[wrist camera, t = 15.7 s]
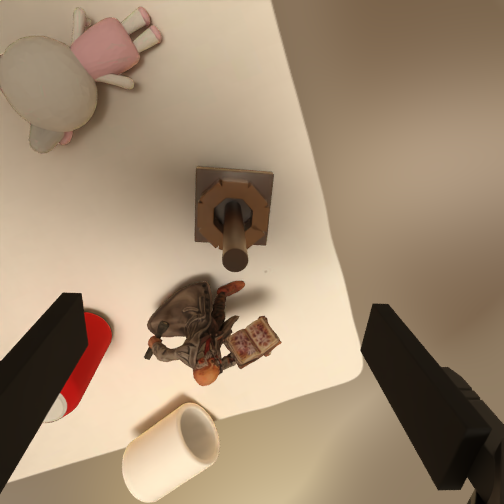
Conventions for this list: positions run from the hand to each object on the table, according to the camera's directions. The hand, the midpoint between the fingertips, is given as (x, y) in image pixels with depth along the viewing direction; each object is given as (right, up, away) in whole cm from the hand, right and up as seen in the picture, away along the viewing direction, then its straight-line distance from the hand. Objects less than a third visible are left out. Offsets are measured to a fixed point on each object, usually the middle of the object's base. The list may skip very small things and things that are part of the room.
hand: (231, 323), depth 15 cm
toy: (-14, +20, +16) cm, 29 cm away
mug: (-12, -23, +26) cm, 36 cm away
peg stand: (-1, +8, +21) cm, 23 cm away
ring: (-1, +8, +20) cm, 22 cm away
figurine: (-4, -2, +26) cm, 26 cm away
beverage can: (-20, -6, +26) cm, 33 cm away
